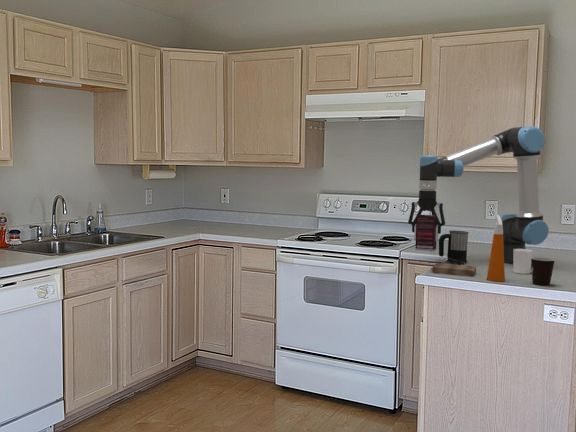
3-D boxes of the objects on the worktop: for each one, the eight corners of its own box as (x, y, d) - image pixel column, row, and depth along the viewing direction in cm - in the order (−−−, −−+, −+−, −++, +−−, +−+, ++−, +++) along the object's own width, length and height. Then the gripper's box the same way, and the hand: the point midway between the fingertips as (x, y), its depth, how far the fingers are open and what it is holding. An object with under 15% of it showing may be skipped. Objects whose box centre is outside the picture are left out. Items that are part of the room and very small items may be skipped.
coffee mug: (548, 287, 233) (550, 261, 232) (526, 283, 238) (527, 258, 237) (558, 283, 241) (560, 258, 240) (536, 279, 247) (538, 255, 246)
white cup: (535, 274, 260) (536, 251, 259) (519, 274, 258) (521, 251, 257) (523, 270, 268) (524, 248, 267) (508, 271, 266) (509, 248, 265)
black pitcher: (459, 260, 293) (461, 230, 292) (480, 265, 278) (482, 234, 277) (434, 261, 288) (436, 230, 287) (454, 267, 274) (456, 234, 272)
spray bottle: (501, 277, 251) (505, 214, 249) (506, 282, 240) (510, 216, 238) (483, 276, 252) (487, 213, 250) (488, 281, 242) (491, 216, 239)
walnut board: (475, 272, 261) (476, 266, 261) (473, 276, 250) (473, 270, 250) (436, 268, 268) (436, 262, 268) (432, 272, 257) (432, 267, 256)
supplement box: (436, 250, 270) (437, 215, 269) (433, 251, 266) (435, 215, 264) (417, 248, 274) (418, 214, 273) (414, 250, 270) (415, 214, 268)
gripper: (401, 189, 268) (400, 239, 270) (451, 191, 260) (449, 242, 262) (405, 189, 275) (403, 237, 277) (453, 190, 267) (451, 240, 269)
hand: (426, 240), depth 270 cm, fingers closed on supplement box, 9 cm apart
